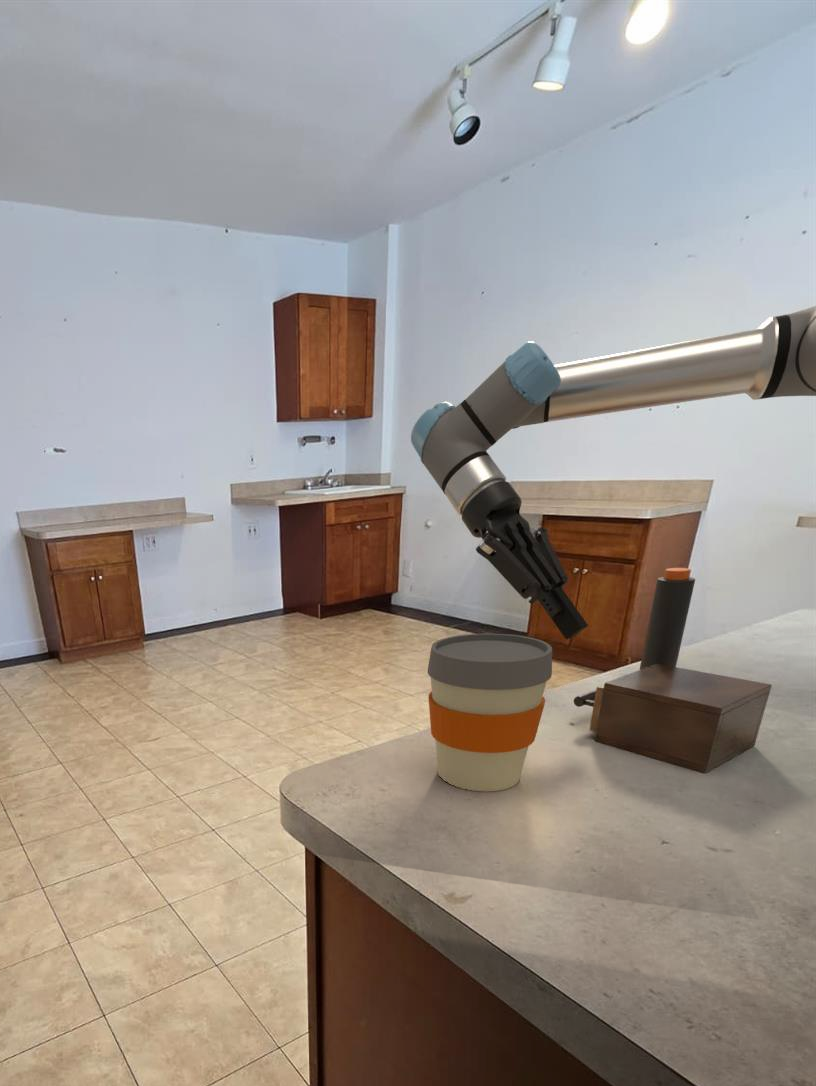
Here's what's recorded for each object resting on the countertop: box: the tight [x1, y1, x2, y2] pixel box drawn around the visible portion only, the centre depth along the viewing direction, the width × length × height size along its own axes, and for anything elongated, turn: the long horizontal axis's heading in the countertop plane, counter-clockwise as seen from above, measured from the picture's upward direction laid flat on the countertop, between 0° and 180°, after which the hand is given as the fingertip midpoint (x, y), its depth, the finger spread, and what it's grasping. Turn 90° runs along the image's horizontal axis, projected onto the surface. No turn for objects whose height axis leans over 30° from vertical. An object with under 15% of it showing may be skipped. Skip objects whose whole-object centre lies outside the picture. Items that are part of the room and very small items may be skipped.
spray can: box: [639, 567, 696, 670], centre depth 87 cm, size 5×5×18 cm
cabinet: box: [594, 664, 773, 774], centre depth 76 cm, size 13×12×8 cm
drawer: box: [573, 683, 605, 733], centre depth 79 cm, size 15×10×6 cm
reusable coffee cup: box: [426, 633, 553, 792], centre depth 71 cm, size 13×13×15 cm
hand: (577, 632), depth 85 cm, fingers closed
